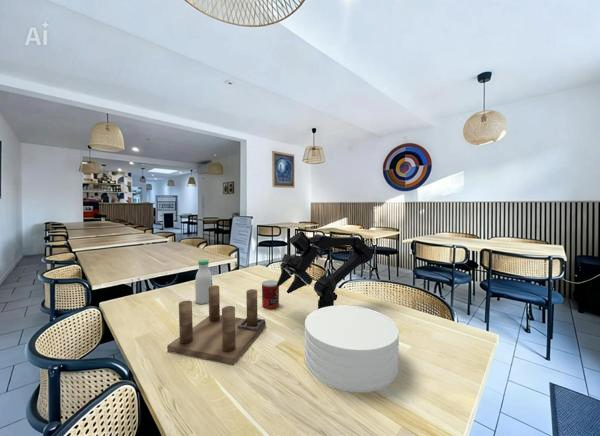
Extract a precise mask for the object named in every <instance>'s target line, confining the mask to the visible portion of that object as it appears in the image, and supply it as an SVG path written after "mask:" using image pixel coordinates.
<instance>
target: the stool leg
mask: <svg viewBox="0 0 600 436" xmlns="http://www.w3.org/2000/svg"><path fill="white" fill-rule="evenodd" d="M245 296H246V297H245V298H246V299H245V300H246V318H247V326H249V327H256V326H257V325H258V322H257V318H258V290H257V289H254V288H253V289H252V288H251V289H247V290H246V295H245Z"/></svg>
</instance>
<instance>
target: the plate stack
mask: <svg viewBox="0 0 600 436" xmlns="http://www.w3.org/2000/svg"><path fill="white" fill-rule="evenodd" d="M399 330H400V329H399V327H398V325H397V324H396V323H395V322H394V320H393V319H391V317H388V316H387V315H385V314H383V313H381V312H379V311H376V310H374V309H370V308H366V307H362V306H356V305H345V304H342V305H341V304H340V305H338V304H337V305H334V306H328V307H323V308H320V309H318V308H317V309H315V310H313V311H311V312H310V313H309V314H308V315H307V316H306V317H305V320H304V364H305V366H306V369H307V370H308V371H309V373H310V374H311V375H312V376H314V378H315V379H317V380H318V381H320V382H321V383H322V384H325V385H326V386H329V387H331V388H334V389H335V390H336V389H337V390H340V391H344V392H349V393H350V392H351V393H370V392H371V391H372V392H376V391H379V389H380V390H383V389H385V388H387V387H388V386H390V385H391V384H392V383H393V382H394V381H395V380H396V377H397V376H398V370H399V346H400V345H399V344H400V341H399V339H400V338H399V337H400V331H399ZM384 387H385V388H384Z"/></svg>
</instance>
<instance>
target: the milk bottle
mask: <svg viewBox="0 0 600 436" xmlns="http://www.w3.org/2000/svg"><path fill="white" fill-rule="evenodd" d="M197 264H198V269H197V272H196V275H195V278H194V279H195V282H194V284H195V286H194V287H195V289H194V291H195V293H194V294H195V303H196V304H198V305H205V304H209V287H210V286H213V276H212V272H211V270H210V268H209V260H208V259H200V260H198V263H197Z"/></svg>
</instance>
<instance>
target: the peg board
mask: <svg viewBox="0 0 600 436" xmlns="http://www.w3.org/2000/svg"><path fill="white" fill-rule="evenodd" d="M220 296H221V295H220V286H219V285H212V286H210V287H209V303H208V315H207V317H205V318H204V319H203V320H201V321H200V322H199V323H197V324H195V325H194V326H193V301H192V300H182V301H180V302H179V303H178V322H179V325H178V326H179V328H178V329H179V337H178V338H175V340H173V341H171V342H170V343H169V344H167V352H168V353H174V354H179V355H184V356H189V357H194V358H199V359H203V360H204V359H205V360H210V361H214V362H219V363H224V364H231V365H235V364H236V363H237V362H238V360H239V359H240V358H241V357H242V355H243V354H245V352H246V351H247V349H249V347H251V345H252V343H254V341H256V339H257V338H258V337H259V336H260V334H261V333H262V332H263V331H264V329H265V328H266V327H267V325H266V323H267V322H266V319H265V318H264V319H263V318H258V317H257V322H258V325H257V326H256V327H249V326H247V317H246V318H242V317H236V307H235V306H233V305H227V306H223V307H222V308H220V304H221V303H220V301H221V299H220ZM220 313H221V314H220Z"/></svg>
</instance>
